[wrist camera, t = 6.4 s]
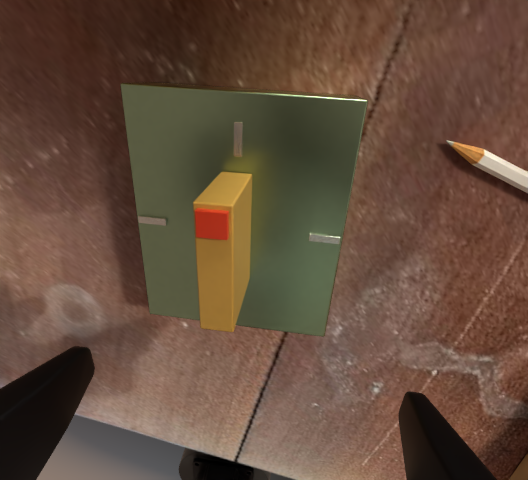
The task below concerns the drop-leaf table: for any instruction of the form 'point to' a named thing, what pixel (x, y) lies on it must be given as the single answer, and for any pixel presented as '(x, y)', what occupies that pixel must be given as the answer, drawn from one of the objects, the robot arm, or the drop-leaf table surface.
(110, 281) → the drop-leaf table surface
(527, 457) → the button block
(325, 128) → the valve panel
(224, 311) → the tap handle
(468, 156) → the pencil
